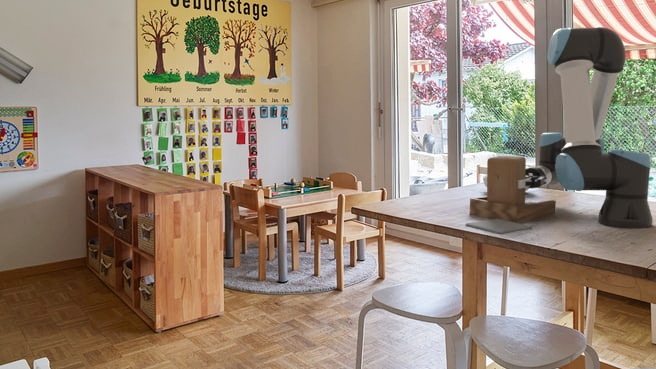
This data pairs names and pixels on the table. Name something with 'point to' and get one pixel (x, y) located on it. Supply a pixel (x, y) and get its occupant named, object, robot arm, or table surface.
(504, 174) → the wooden block
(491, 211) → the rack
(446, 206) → the table surface
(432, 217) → the table surface
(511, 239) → the table surface
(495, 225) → the mat
